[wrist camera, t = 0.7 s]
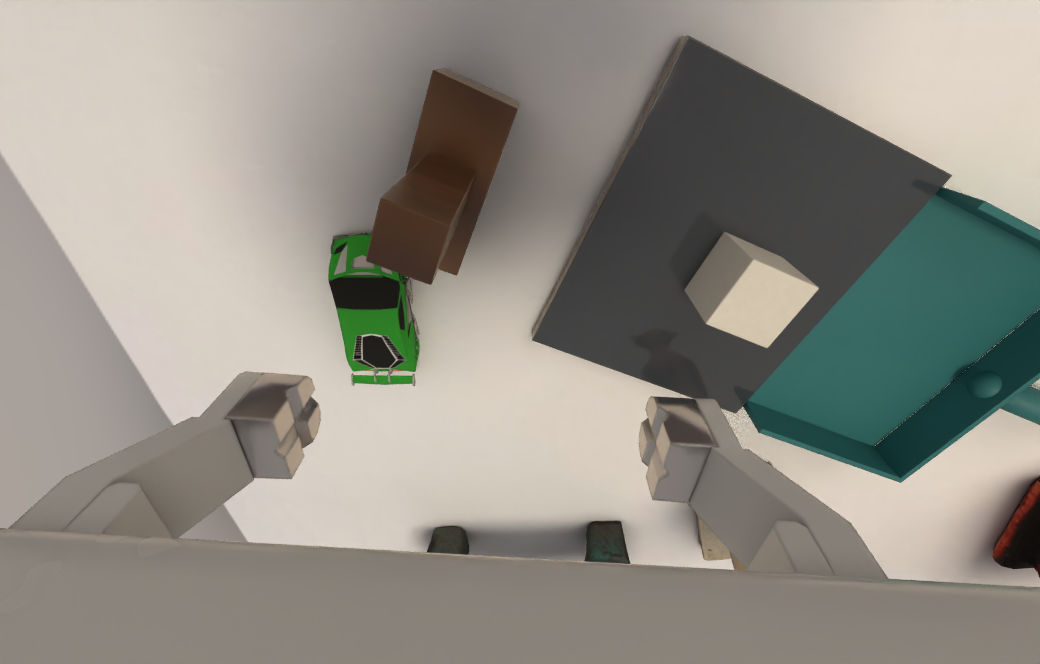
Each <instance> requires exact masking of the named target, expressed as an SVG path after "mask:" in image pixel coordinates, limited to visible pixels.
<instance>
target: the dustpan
mask: <svg viewBox="0 0 1040 664" xmlns="http://www.w3.org/2000/svg"><path fill="white" fill-rule="evenodd" d="M1039 308H1040V230H1039V229H1037V228H1035V227H1033V226H1031V225H1029V224H1027V223H1025V222H1023V221H1022V220H1020V219H1018V218H1016V217H1014V216H1012V215H1010V214H1008V213H1006V212H1004V211H1003V210H1001V209H999V208H997V207H995V206H993V205H991V204H989V203H987V202H985V201H983V200H980V199H977V198H974V197H971V196H968V195H965V194H961V193H958V192H955V191H952V190H949V189H946V188H943V187H941V188H940V190H939V191H938V192H937V193H936V194H935V195H934V196H933V197H932V198H931V199H930V201H929V202H928V203H927V204H926V205H925V206H924V207H923V208H922V209H921V210H920V212H919V213H918V214H917V215H916V216H915V217H914V218H913V219H912V220H911V221H910V223H909V224H908V225H907V226H906V227H905V228H904V229H903V230H902V231H901V232H900V234H899V235H898V236H897V237H896V238H895V239H894V240H893V241H892V242H891V243H890V245H889V246H888V247H887V248H886V249H885V250H884V251H883V252H882V253H881V254H880V256H879V257H878V258H877V259H876V260H875V261H874V262H873V263H872V264H871V265H870V267H869V268H868V269H867V270H866V271H865V272H864V273H863V274H862V275H861V276H860V278H859V279H858V280H857V281H856V282H855V283H854V284H853V285H852V286H851V287H850V289H849V290H848V291H847V292H846V293H845V294H844V295H843V296H842V297H841V298H840V300H839V301H838V302H837V303H836V304H835V305H834V306H833V307H832V308H831V309H830V311H829V312H828V313H827V314H826V315H825V316H824V317H823V318H822V319H821V320H820V322H819V323H818V324H817V325H816V326H815V327H814V328H813V329H812V330H811V331H810V333H809V334H808V335H807V336H806V337H805V338H804V339H803V340H802V341H801V342H800V344H799V345H798V346H797V347H796V348H795V349H794V350H793V351H792V352H791V353H790V355H789V356H788V357H787V358H786V359H785V360H784V361H783V362H782V363H781V364H780V366H779V367H778V368H777V369H776V370H775V371H774V372H773V373H772V374H771V375H770V377H769V378H768V379H767V380H766V381H765V382H764V383H763V384H762V385H761V387H760V388H759V389H758V390H757V391H756V392H755V393H754V394H753V395H752V396H751V398H750V399H749V400H748V401H747V402H746V403H745V404H744V405H743V407H744V408H745V410H746V412H747V413H748V415H749V417H750V418H751V420H752V422H753V424H754V425H755V427H756V429H757V430H758V432H759V433H762V434H764V435H767V436H770V437H773V438H776V439H779V440H781V441H784V442H787V443H790V444H793V445H795V446H798V447H801V448H804V449H807V450H810V451H812V452H815V453H818V454H821V455H824V456H827V457H829V458H832V459H835V460H838V461H841V462H844V463H846V464H849V465H852V466H855V467H858V468H861V469H863V470H866V471H869V472H872V473H875V474H878V475H880V476H883V477H886V478H889V479H892V480H894V481H897V482H900V483H901V482H902V481H904V480H905V479H906V478H908V477H909V476H910V475H912V474H913V473H914V472H916V471H917V470H918V469H920V468H921V467H922V466H924V465H925V464H926V463H928V462H929V461H930V460H932V459H933V458H934V457H936V456H937V455H938V454H940V453H941V452H942V451H944V450H945V449H946V448H948V447H949V446H950V445H952V444H953V443H954V442H956V441H957V440H958V439H960V438H961V437H962V436H964V435H965V434H966V433H968V432H969V431H970V430H972V429H973V428H974V427H976V426H977V425H978V424H980V423H981V422H982V421H984V420H985V419H986V418H988V417H989V416H990V415H992V414H993V413H994V412H996V411H997V410H998V409H1000V408H1001V409H1003V410H1005V411H1008V412H1010V413H1013V414H1015V415H1017V416H1020V417H1022V418H1025V419H1027V420H1029V421H1032V422H1034V423H1037V424H1039V425H1040V391H1038V390H1036V389H1034V388H1031V387H1029V386H1030V385H1032V384H1033V383H1034V382H1036V381H1037V380H1038V379H1040V309H1039ZM1038 309H1039V310H1038ZM1037 310H1038V311H1037ZM1036 311H1037V312H1036ZM1035 312H1036V313H1035ZM1033 313H1035V314H1033ZM1032 314H1033V315H1032ZM1031 315H1032V316H1031ZM1030 316H1031V317H1030ZM1029 317H1030V318H1029ZM1027 318H1029V319H1027ZM1026 319H1027V320H1026ZM1025 320H1026V321H1025ZM1024 321H1025V322H1024ZM1023 322H1024V323H1023ZM1021 323H1023V324H1021ZM1020 324H1021V325H1020ZM1019 325H1020V326H1019ZM1018 326H1019V327H1018ZM1017 327H1018V328H1017ZM1015 328H1017V329H1015ZM1014 329H1015V330H1014ZM1013 330H1014V331H1013ZM1012 331H1013V332H1012ZM1011 332H1012V333H1011ZM1009 333H1010V334H1009ZM1008 334H1009V335H1008ZM1007 335H1008V336H1007ZM1006 336H1007V337H1006ZM1005 337H1006V338H1005ZM1003 338H1004V339H1003ZM1002 339H1003V340H1002ZM1001 340H1002V341H1001ZM1000 341H1001V342H1000ZM999 342H1000V343H999ZM997 343H998V344H997ZM996 344H997V345H996ZM995 345H996V346H995ZM994 346H995V347H994ZM993 347H994V348H993ZM991 348H992V349H991ZM990 349H991V350H990ZM989 350H990V351H989ZM988 351H989V352H988ZM987 352H988V353H987ZM985 353H986V354H985ZM984 354H985V355H984ZM983 355H984V356H983ZM982 356H983V357H982ZM981 357H982V358H981ZM979 358H980V359H979ZM978 359H979V360H978ZM977 360H978V361H977ZM976 361H977V362H976ZM975 362H976V363H975ZM973 363H974V364H973ZM972 364H973V365H972ZM971 365H972V366H971ZM970 366H971V367H970ZM969 367H970V368H969ZM967 368H968V369H967ZM966 369H967V370H966ZM965 370H966V371H965ZM964 371H965V372H964ZM963 372H964V373H963ZM961 373H962V374H961ZM960 374H961V375H960ZM959 375H960V376H959ZM958 376H959V377H958ZM957 377H958V378H957ZM955 378H956V379H955ZM954 379H955V380H954ZM953 380H954V381H953ZM952 381H953V382H952ZM951 382H952V383H951ZM949 383H950V384H949ZM948 384H949V385H948ZM947 385H948V386H947ZM946 386H947V387H946ZM945 387H946V388H945ZM943 388H944V389H943ZM942 389H943V390H942ZM941 390H942V391H941ZM940 391H941V392H940ZM939 392H940V393H939ZM937 393H938V394H937ZM936 394H937V395H936ZM935 395H936V396H935ZM934 396H935V397H934ZM931 398H932V399H931ZM930 399H931V400H930ZM929 400H930V401H929ZM928 401H929V402H928ZM925 403H926V404H925ZM924 404H925V405H924ZM923 405H924V406H923ZM922 406H923V407H922ZM919 408H920V409H919ZM918 409H919V410H918ZM917 410H918V411H917ZM916 411H917V412H916ZM913 413H914V414H913ZM912 414H913V415H912ZM911 415H912V416H911ZM910 416H911V417H910ZM907 418H908V419H907ZM906 419H907V420H906ZM905 420H906V421H905ZM904 421H905V422H904ZM902 422H903V423H902ZM901 423H902V424H901ZM900 424H901V425H900ZM899 425H900V426H899ZM898 426H899V427H898ZM896 427H897V428H896ZM895 428H896V429H895ZM894 429H895V430H894ZM893 430H894V431H893ZM892 431H893V432H892ZM890 432H891V433H890ZM889 433H890V434H889ZM888 434H889V435H888ZM887 435H888V436H887ZM886 436H887V437H886ZM884 437H885V438H884ZM883 438H884V439H883ZM882 439H883V440H882ZM881 440H882V441H881ZM880 441H881V442H880ZM878 442H879V443H878ZM877 443H878V444H877ZM876 444H877V445H876ZM875 445H876V446H875ZM874 446H875V447H874Z"/></svg>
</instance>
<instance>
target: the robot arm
mask: <svg viewBox="0 0 1040 664" xmlns="http://www.w3.org/2000/svg"><path fill="white" fill-rule="evenodd" d="M314 390H315V388H314V384H313V381H312V379H311V378H310V377H308V376H301V375H289V374H276V373H260V372H247V371H246V372H243V373H240V374H239V375H238V376H237V377H236V378H235V379H234V380H233V381H232V382H231V383H230V384H229V385H228V387H227V388H226V389H225V390H224V391H223V392H222V393H221V394H220V395H219V396H218V397H217V398H216V400H215V401H214V402H213V403H212V404H211V405H210V406H209V407H208V408H207V409H206V410H205V411H204V412H203V414H202V415H201V416H200V417H191V418H189V419H187V420H185V421H183V422H180V423H178V424H176V425H174V426H172V427H170V428H168V429H166V430H164V431H162V432H159V433H157V434H155V435H153V436H151V437H149V438H147V439H145V440H143V441H140V442H138V443H136V444H134V445H132V446H130V447H128V448H126V449H124V450H121V451H119V452H117V453H115V454H113V455H111V456H109V457H107V458H105V459H103V460H100V461H98V462H96V463H94V464H92V465H90V466H88V467H86V468H83V469H81V470H79V471H77V472H75V473H73V474H71V475H69V476H66V477H65V478H64V479H62V480H61V481H60V482H59V483H58V484H57V485H56V486H55V487H54V488H52V489H51V490H50V491H49V492H48V493H47V494H46V495H45V496H44V497H43V498H41V499H40V500H39V501H38V502H37V503H36V504H35V505H34V506H33V507H31V508H30V509H29V510H28V511H27V512H26V513H25V514H24V515H23V516H21V517H20V518H19V519H18V520H17V521H16V522H15V523H14V524H13V525H11V526H10V527H9V528H8V529H6V528H0V664H1040V587H1025V586H1006V585H988V584H970V583H952V582H934V581H916V580H899V579H888V578H887V576H886V575H885V573H884V572H883V570H882V569H881V567H880V566H879V564H878V563H877V561H876V560H875V558H874V557H873V555H872V554H871V552H870V551H869V549H868V548H867V546H866V545H865V543H864V542H863V540H862V539H861V537H860V536H859V534H858V533H857V531H856V530H855V528H854V527H853V525H852V524H851V523H850V522H849V521H847V520H846V519H844V518H843V517H842V516H840V515H839V514H838V513H836V512H835V511H833V510H832V509H831V508H829V507H828V506H826V505H825V504H824V503H822V502H821V501H820V500H818V499H817V498H815V497H814V496H813V495H811V494H810V493H808V492H807V491H806V490H804V489H803V488H802V487H800V486H799V485H797V484H796V483H795V482H793V481H792V480H790V479H789V478H788V477H786V476H785V475H783V474H782V473H781V472H779V471H778V470H777V469H775V468H774V467H772V466H771V465H770V464H768V463H767V462H765V461H764V460H763V459H761V458H760V457H759V456H757V455H756V454H754V453H753V452H752V451H750V450H748V449H742V447H741V445H740V443H739V442H738V440H737V438H736V436H735V434H734V432H733V430H732V428H731V427H730V425H729V423H728V421H727V419H726V417H725V415H724V414H723V412H722V410H721V408H720V406H719V404H718V402H717V401H715V400H714V399H701V398H692V399H689V398H670V397H650V398H649V400H648V402H647V406H646V412H647V416H648V418H647V419H646V420H645V421H643V422H642V424H641V428H640V432H639V450H640V456H641V460H642V462H643V463H644V464H645V465H647V466H648V471H647V474H646V479H647V482H648V486H649V490H650V493H651V497H652V500H659V501H671V502H683V503H689V506H690V507H691V508H692V509H693V510H694V511H695V512H696V514H697V515H698V516H699V517H700V518H701V519H702V520H703V521H704V522H705V524H706V525H707V526H708V527H709V528H710V529H711V530H712V531H713V533H714V534H715V535H716V536H717V537H718V538H719V539H720V540H721V542H722V543H723V544H724V545H725V546H726V547H727V548H728V549H729V550H730V552H731V553H732V554H733V555H734V556H735V557H736V558H737V559H738V561H739V562H740V563H741V564H742V565H743V566H744V567H745V568H746V571H742V570H725V569H707V568H690V567H673V566H655V565H638V564H620V563H603V562H585V561H567V560H550V559H532V558H514V557H497V556H479V555H462V554H444V553H427V552H409V551H392V550H375V549H357V548H340V547H322V546H305V545H287V544H269V543H252V542H233V541H217V540H199V539H181V538H179V537H180V536H181V535H183V534H184V533H185V532H186V531H188V530H189V529H190V528H192V527H193V526H194V525H196V524H197V523H198V522H200V521H201V520H202V519H203V518H205V517H206V516H207V515H209V514H210V513H211V512H213V511H214V510H215V509H217V508H218V507H219V506H220V505H222V504H223V503H224V502H226V501H227V500H228V499H230V498H231V497H232V496H234V495H235V494H236V493H237V492H239V491H240V490H241V489H243V488H244V487H245V486H247V485H248V484H249V483H251V482H252V481H253V480H254V478H274V479H292V477H293V475H294V474H295V472H296V470H297V469H298V467H299V465H300V463H301V462H302V460H303V458H304V453H303V450H302V448H304V447H306V446H307V445H309V444H310V443H312V442H313V440H314V439H315V437H316V435H317V433H318V429H319V425H320V421H321V418H320V408H319V404H318V403H317V402H316V401H315V400H314V399H313V398H312V397H311V395H312V393H313V392H314Z"/></svg>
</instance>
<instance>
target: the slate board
mask: <svg viewBox="0 0 1040 664" xmlns="http://www.w3.org/2000/svg"><path fill="white" fill-rule="evenodd" d="M951 176H952V175H951V174H949V173H947V172H945V171H943V170H941V169H939V168H937V167H936V166H934V165H932V164H930V163H928V162H926V161H924V160H922V159H920V158H919V157H917V156H915V155H913V154H911V153H909V152H907V151H905V150H904V149H902V148H900V147H898V146H896V145H894V144H892V143H890V142H888V141H887V140H885V139H883V138H881V137H879V136H877V135H875V134H873V133H871V132H870V131H868V130H866V129H864V128H862V127H860V126H858V125H856V124H855V123H853V122H851V121H849V120H847V119H845V118H843V117H841V116H839V115H838V114H836V113H834V112H832V111H830V110H828V109H826V108H824V107H822V106H821V105H819V104H817V103H815V102H813V101H811V100H809V99H807V98H806V97H804V96H802V95H800V94H798V93H796V92H794V91H792V90H790V89H789V88H787V87H785V86H783V85H781V84H779V83H777V82H775V81H774V80H772V79H770V78H768V77H766V76H764V75H762V74H760V73H758V72H757V71H755V70H753V69H751V68H749V67H747V66H745V65H743V64H741V63H740V62H738V61H736V60H734V59H732V58H730V57H728V56H726V55H725V54H723V53H721V52H719V51H717V50H715V49H713V48H711V47H709V46H708V45H706V44H704V43H702V42H700V41H698V40H696V39H694V38H692V37H691V36H689V35H687V36H682V37H681V39H680V41H679V43H678V44H677V46H676V48H675V50H674V52H673V54H672V56H671V58H670V60H669V62H668V64H667V66H666V68H665V70H664V72H663V74H662V76H661V78H660V80H659V82H658V84H657V86H656V88H655V90H654V92H653V94H652V96H651V98H650V100H649V102H648V104H647V106H646V108H645V110H644V112H643V114H642V116H641V118H640V120H639V122H638V124H637V126H636V128H635V130H634V132H633V134H632V136H631V138H630V140H629V142H628V144H627V146H626V148H625V149H624V151H623V153H622V155H621V157H620V159H619V161H618V163H617V165H616V167H615V169H614V171H613V173H612V175H611V177H610V179H609V181H608V183H607V185H606V187H605V189H604V191H603V193H602V195H601V197H600V199H599V201H598V203H597V205H596V207H595V209H594V211H593V213H592V215H591V217H590V219H589V221H588V223H587V225H586V227H585V229H584V231H583V233H582V235H581V237H580V239H579V241H578V243H577V245H576V247H575V249H574V251H573V253H572V254H571V256H570V258H569V260H568V262H567V264H566V266H565V268H564V270H563V272H562V274H561V276H560V278H559V280H558V282H557V284H556V286H555V288H554V290H553V292H552V294H551V296H550V298H549V300H548V302H547V304H546V306H545V308H544V310H543V312H542V314H541V316H540V318H539V320H538V322H537V324H536V326H535V328H534V330H533V332H532V340H533V341H535V342H538V343H541V344H544V345H546V346H549V347H552V348H555V349H558V350H560V351H563V352H566V353H569V354H571V355H574V356H577V357H580V358H583V359H585V360H588V361H591V362H594V363H597V364H599V365H602V366H605V367H608V368H611V369H613V370H616V371H619V372H622V373H624V374H627V375H630V376H633V377H636V378H638V379H641V380H644V381H647V382H650V383H652V384H655V385H658V386H661V387H663V388H666V389H669V390H672V391H675V392H677V393H680V394H683V395H686V396H689V397H691V398H701V399H714V400H715V401H717V402H718V404H719V406H720V408H722V409H725V410H728V411H730V412H733V413H737V412H738V411H739V410H740V409H741V407H742V406H743V405H744V404H745V403H746V402H747V401H748V400H749V399H750V398H751V396H752V395H753V394H754V393H755V392H756V391H757V390H758V389H759V388H760V387H761V385H762V384H763V383H764V382H765V381H766V380H767V379H768V378H769V377H770V375H771V374H772V373H773V372H774V371H775V370H776V369H777V368H778V367H779V366H780V364H781V363H782V362H783V361H784V360H785V359H786V358H787V357H788V356H789V355H790V353H791V352H792V351H793V350H794V349H795V348H796V347H797V346H798V345H799V344H800V342H801V341H802V340H803V339H804V338H805V337H806V336H807V335H808V334H809V333H810V331H811V330H812V329H813V328H814V327H815V326H816V325H817V324H818V323H819V322H820V320H821V319H822V318H823V317H824V316H825V315H826V314H827V313H828V312H829V311H830V309H831V308H832V307H833V306H834V305H835V304H836V303H837V302H838V301H839V300H840V298H841V297H842V296H843V295H844V294H845V293H846V292H847V291H848V290H849V289H850V287H851V286H852V285H853V284H854V283H855V282H856V281H857V280H858V279H859V278H860V276H861V275H862V274H863V273H864V272H865V271H866V270H867V269H868V268H869V267H870V265H871V264H872V263H873V262H874V261H875V260H876V259H877V258H878V257H879V256H880V254H881V253H882V252H883V251H884V250H885V249H886V248H887V247H888V246H889V245H890V243H891V242H892V241H893V240H894V239H895V238H896V237H897V236H898V235H899V234H900V232H901V231H902V230H903V229H904V228H905V227H906V226H907V225H908V224H909V223H910V221H911V220H912V219H913V218H914V217H915V216H916V215H917V214H918V213H919V212H920V210H921V209H922V208H923V207H924V206H925V205H926V204H927V203H928V202H929V201H930V199H931V198H932V197H933V196H934V195H935V194H936V193H937V192H938V191H939V190H940V188H941V187H942V186H943V185H944V184H945V183H946V182H947V181H948V180H949V179H950V177H951ZM724 232H727V233H729V234H731V235H733V236H736V237H738V238H740V239H742V240H745V241H747V242H749V243H751V244H754V245H756V246H758V247H760V248H763V249H765V250H767V251H769V252H772V253H774V254H776V255H778V256H781V257H782V258H784V259H785V260H786V261H787V262H789V263H790V264H791V265H792V266H793V267H795V268H796V269H797V270H798V271H799V272H801V273H802V274H803V275H804V276H805V277H807V278H808V279H809V280H810V281H812V282H813V283H814V284H815V285H816V286H818V287H819V289H818V290H817V292H816V293H815V294H814V295H813V296H812V297H811V299H810V300H809V301H808V302H807V303H806V304H805V305H804V307H803V308H802V309H801V310H800V311H799V312H798V313H797V315H796V316H795V317H794V318H793V319H792V320H791V322H790V323H789V324H788V325H787V326H786V327H785V328H784V330H783V331H782V332H781V333H780V334H779V335H778V337H777V338H776V339H775V340H774V341H773V342H772V343H771V345H770V346H769V347H768V348H765V347H763V346H760V345H758V344H755V343H753V342H750V341H748V340H745V339H743V338H740V337H738V336H735V335H733V334H730V333H728V332H725V331H722V330H720V329H717V328H715V327H712V326H710V325H707V324H706V323H705V322H704V320H703V319H702V317H701V316H700V314H699V312H698V311H697V309H696V308H695V306H694V305H693V303H692V301H691V300H690V298H689V297H688V295H687V293H686V292H685V288H686V287H687V285H688V284H689V282H690V281H691V279H692V278H693V277H694V275H695V274H696V272H697V271H698V269H699V268H700V266H701V265H702V263H703V262H704V260H705V259H706V258H707V256H708V255H709V253H710V252H711V250H712V249H713V247H714V246H715V244H716V243H717V241H718V240H719V239H720V237H721V236H722V234H723V233H724Z"/></svg>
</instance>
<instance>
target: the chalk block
mask: <svg viewBox="0 0 1040 664" xmlns="http://www.w3.org/2000/svg"><path fill="white" fill-rule="evenodd" d="M818 289H819V287H818V286H816V285H815V284H814V283H813V282H812V281H810V280H809V279H808V278H807V277H805V276H804V275H803V274H802V273H801V272H799V271H798V270H797V269H796V268H795V267H793V266H792V265H791V264H790V263H789V262H787V261H786V260H785V259H784V258H782V257H781V256H778V255H776V254H774V253H772V252H769V251H767V250H765V249H763V248H760V247H758V246H756V245H754V244H751V243H749V242H747V241H745V240H742V239H740V238H738V237H736V236H733V235H731V234H729V233H727V232H724V233H723V234H722V236H721V237H720V239H719V240H718V241H717V243H716V244H715V246H714V247H713V249H712V250H711V252H710V253H709V255H708V256H707V258H706V259H705V260H704V262H703V263H702V265H701V266H700V268H699V269H698V271H697V272H696V274H695V275H694V277H693V278H692V279H691V281H690V282H689V284H688V285H687V287H686V288H685V292H686V293H687V295H688V297H689V298H690V300H691V301H692V303H693V305H694V306H695V308H696V309H697V311H698V312H699V314H700V316H701V317H702V319H703V320H704V322H705V323H706V324H707V325H710V326H712V327H715V328H717V329H720V330H722V331H725V332H728V333H730V334H733V335H735V336H738V337H740V338H743V339H745V340H748V341H750V342H753V343H755V344H758V345H760V346H763V347H765V348H768V347H769V346H770V345H771V343H772V342H773V341H774V340H775V339H776V338H777V337H778V335H779V334H780V333H781V332H782V331H783V330H784V328H785V327H786V326H787V325H788V324H789V323H790V322H791V320H792V319H793V318H794V317H795V316H796V315H797V313H798V312H799V311H800V310H801V309H802V308H803V307H804V305H805V304H806V303H807V302H808V301H809V300H810V299H811V297H812V296H813V295H814V294H815V293H816V292H817V290H818Z"/></svg>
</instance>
